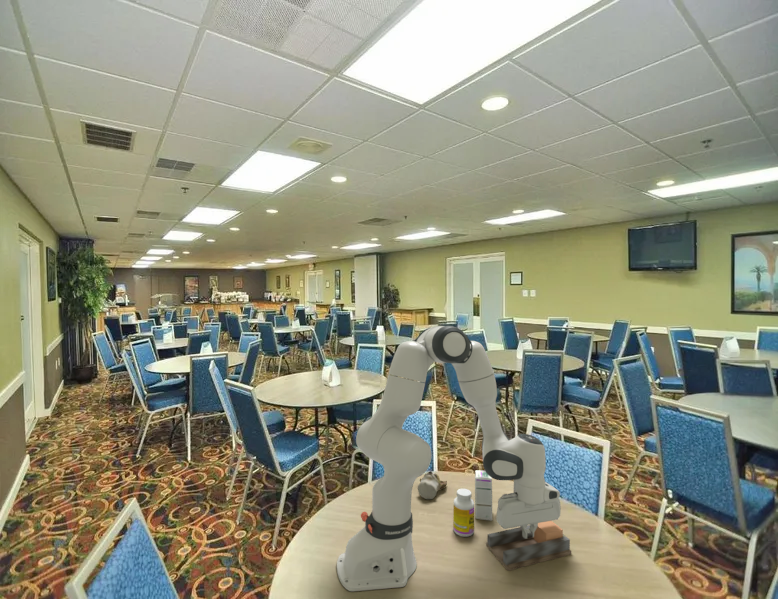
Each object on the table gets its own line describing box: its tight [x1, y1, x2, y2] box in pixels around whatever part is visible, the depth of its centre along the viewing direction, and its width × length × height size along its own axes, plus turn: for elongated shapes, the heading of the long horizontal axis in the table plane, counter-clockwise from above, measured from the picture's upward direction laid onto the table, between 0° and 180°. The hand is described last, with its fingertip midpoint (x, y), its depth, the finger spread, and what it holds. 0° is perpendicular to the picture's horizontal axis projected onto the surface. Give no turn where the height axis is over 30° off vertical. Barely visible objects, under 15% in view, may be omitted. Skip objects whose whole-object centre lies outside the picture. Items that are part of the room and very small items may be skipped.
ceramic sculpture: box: [417, 470, 448, 500], centre depth 149 cm, size 11×9×15 cm
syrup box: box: [474, 469, 493, 521], centre depth 134 cm, size 6×6×14 cm
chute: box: [485, 525, 572, 571], centre depth 116 cm, size 22×11×4 cm, turn 108°
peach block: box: [533, 520, 564, 543], centre depth 118 cm, size 6×6×5 cm
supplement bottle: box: [452, 488, 475, 538], centre depth 125 cm, size 7×7×13 cm
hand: (528, 536), depth 115 cm, fingers closed
